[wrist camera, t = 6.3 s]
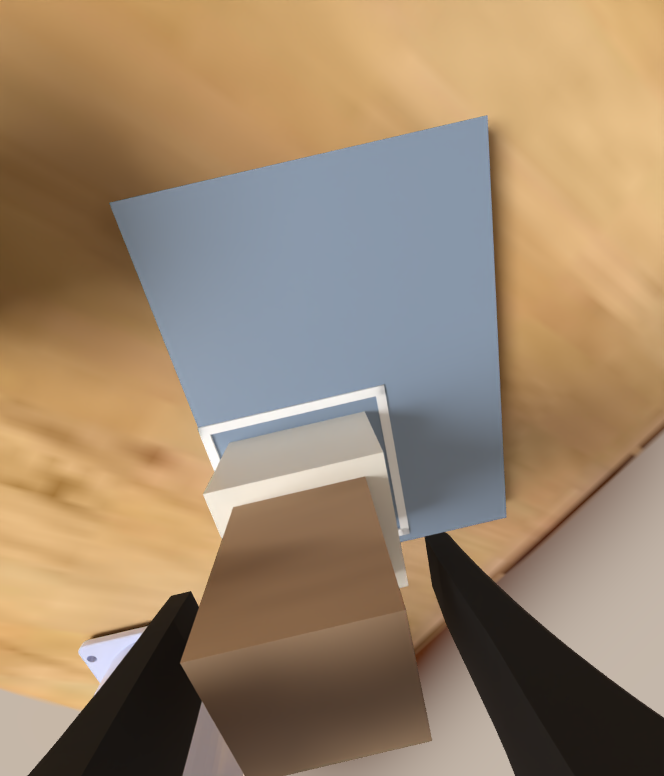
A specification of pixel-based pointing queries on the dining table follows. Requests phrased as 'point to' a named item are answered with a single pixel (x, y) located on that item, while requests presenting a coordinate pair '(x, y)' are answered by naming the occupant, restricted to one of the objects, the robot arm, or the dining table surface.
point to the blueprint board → (342, 309)
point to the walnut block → (306, 636)
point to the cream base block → (306, 472)
